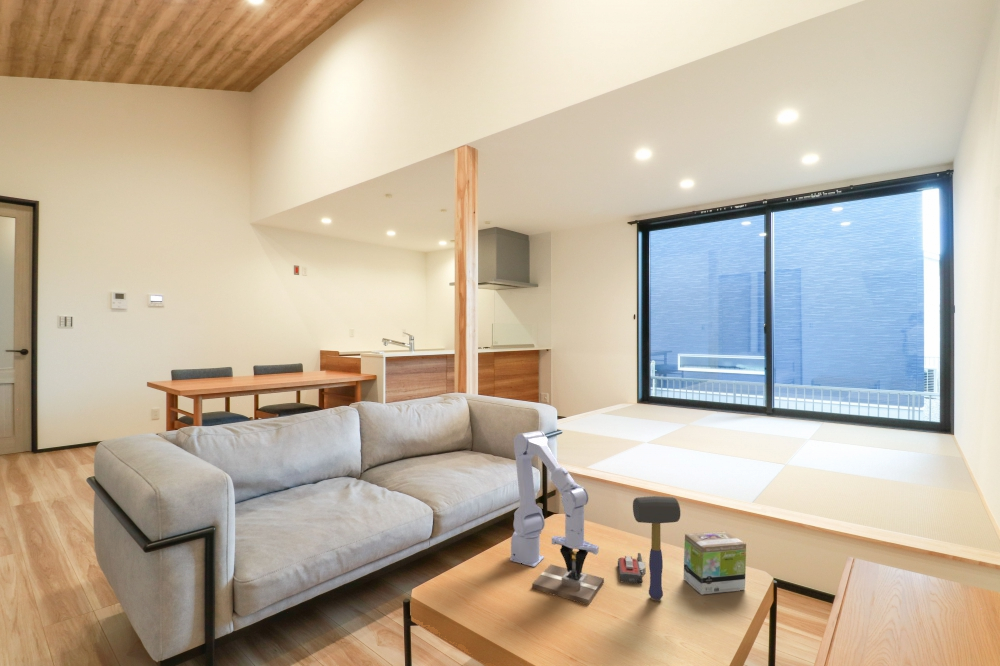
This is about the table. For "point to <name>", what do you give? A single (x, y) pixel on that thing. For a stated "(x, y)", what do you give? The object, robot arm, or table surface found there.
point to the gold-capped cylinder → (573, 565)
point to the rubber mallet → (656, 533)
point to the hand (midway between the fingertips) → (574, 571)
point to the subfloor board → (553, 584)
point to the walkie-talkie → (631, 569)
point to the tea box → (714, 562)
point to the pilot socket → (574, 583)
